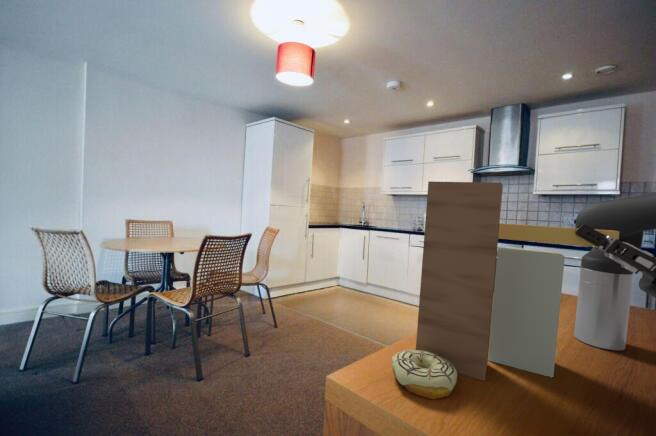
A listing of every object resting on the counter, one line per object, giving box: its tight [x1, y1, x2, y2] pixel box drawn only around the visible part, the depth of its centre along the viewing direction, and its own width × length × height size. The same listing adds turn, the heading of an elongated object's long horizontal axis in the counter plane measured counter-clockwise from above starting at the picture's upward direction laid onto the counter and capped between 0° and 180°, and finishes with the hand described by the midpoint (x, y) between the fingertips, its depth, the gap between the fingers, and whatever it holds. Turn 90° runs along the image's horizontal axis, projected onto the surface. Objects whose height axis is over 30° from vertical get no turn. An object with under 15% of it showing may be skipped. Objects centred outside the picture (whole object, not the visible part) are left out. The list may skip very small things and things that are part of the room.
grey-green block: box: [488, 245, 566, 378], centre depth 62 cm, size 8×10×22 cm
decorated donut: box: [391, 349, 458, 400], centre depth 53 cm, size 10×11×4 cm
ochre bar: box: [498, 223, 619, 248], centre depth 60 cm, size 3×20×3 cm, turn 60°
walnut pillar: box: [415, 180, 504, 382], centre depth 59 cm, size 7×12×34 cm, turn 60°
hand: (577, 228), depth 58 cm, fingers closed on ochre bar, 3 cm apart
